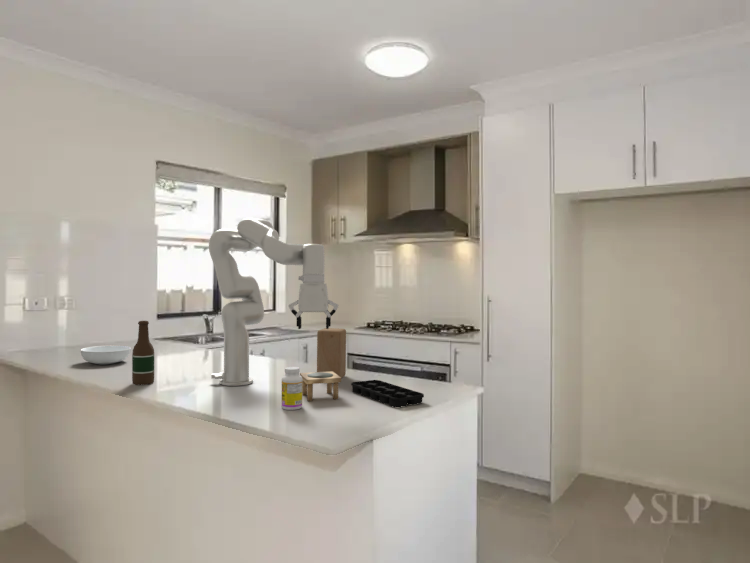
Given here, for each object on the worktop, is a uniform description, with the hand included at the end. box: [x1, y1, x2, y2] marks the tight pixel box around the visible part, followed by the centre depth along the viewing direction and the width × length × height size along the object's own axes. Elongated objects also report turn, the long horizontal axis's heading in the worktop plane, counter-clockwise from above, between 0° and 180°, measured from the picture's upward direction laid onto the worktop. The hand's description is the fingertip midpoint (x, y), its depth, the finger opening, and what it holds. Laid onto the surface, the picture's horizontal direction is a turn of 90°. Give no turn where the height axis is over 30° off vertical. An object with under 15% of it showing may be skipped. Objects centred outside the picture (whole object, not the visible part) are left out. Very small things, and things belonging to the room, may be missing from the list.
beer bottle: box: [131, 320, 155, 386], centre depth 204 cm, size 8×8×24 cm
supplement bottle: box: [281, 366, 303, 411], centre depth 170 cm, size 7×7×13 cm
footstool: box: [299, 371, 342, 402], centre depth 186 cm, size 12×12×8 cm
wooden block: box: [316, 327, 347, 379], centre depth 219 cm, size 10×10×20 cm
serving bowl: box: [79, 345, 132, 366], centre depth 247 cm, size 21×21×7 cm
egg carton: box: [350, 379, 425, 408], centre depth 187 cm, size 18×30×4 cm, turn 47°
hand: (313, 328), depth 185 cm, fingers open, 9 cm apart
